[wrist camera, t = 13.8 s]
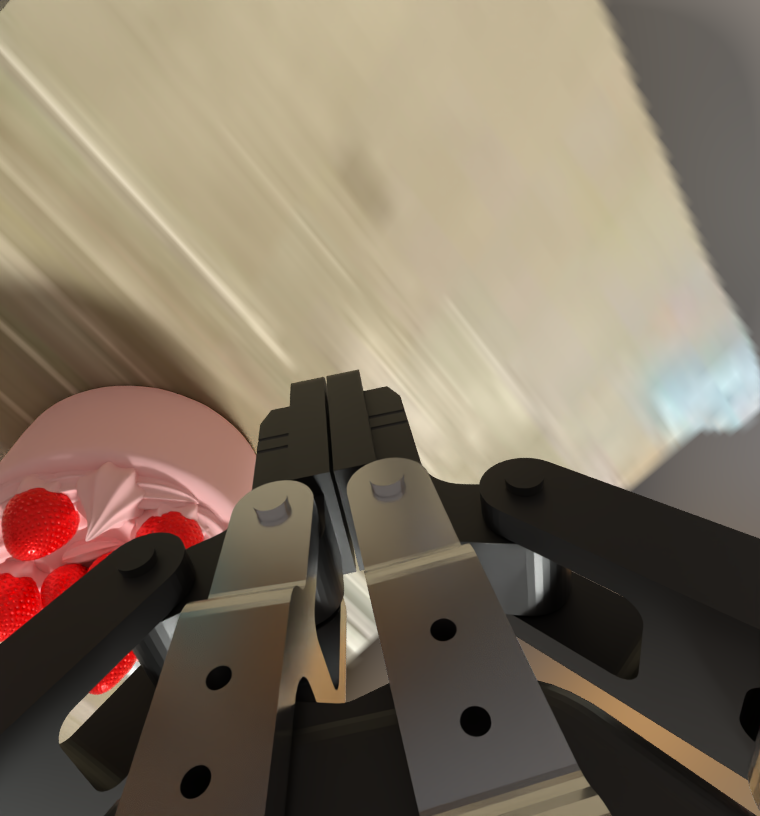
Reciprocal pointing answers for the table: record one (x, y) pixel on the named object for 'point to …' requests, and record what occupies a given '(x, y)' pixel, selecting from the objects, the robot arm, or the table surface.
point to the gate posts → (3, 3)
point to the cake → (110, 490)
